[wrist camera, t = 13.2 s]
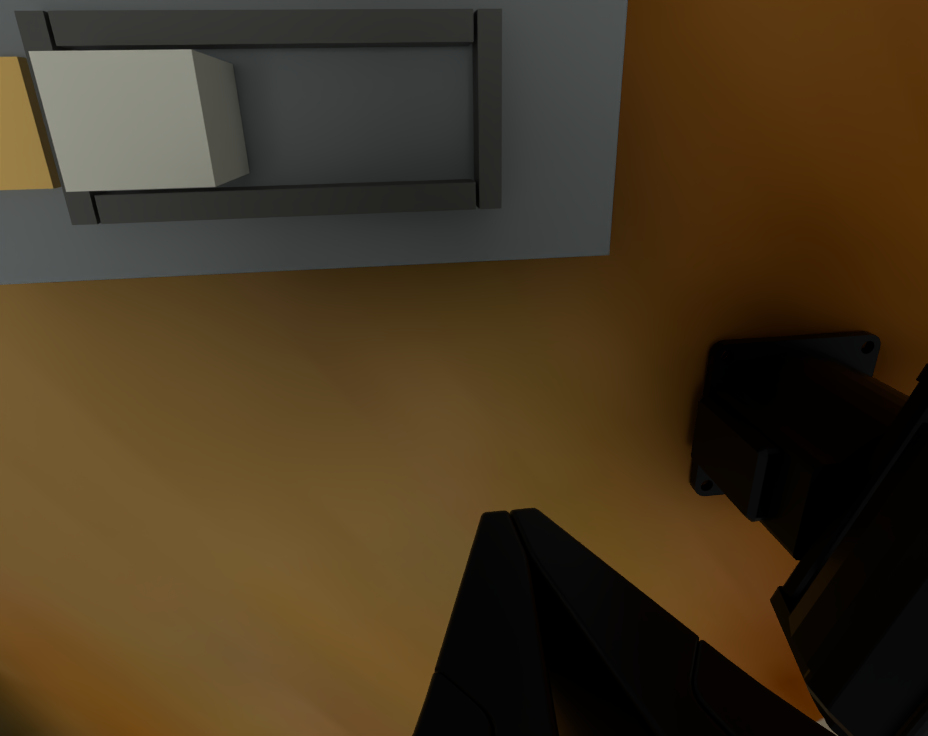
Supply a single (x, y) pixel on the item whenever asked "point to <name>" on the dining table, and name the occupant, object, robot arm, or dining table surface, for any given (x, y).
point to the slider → (141, 118)
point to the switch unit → (334, 137)
